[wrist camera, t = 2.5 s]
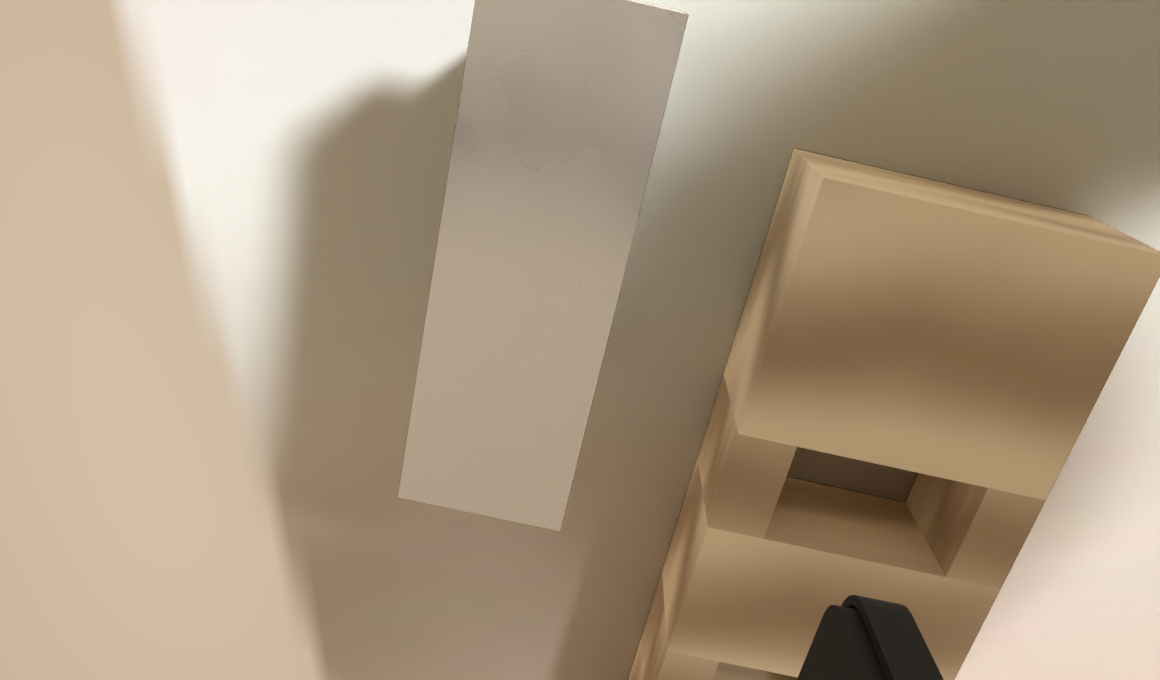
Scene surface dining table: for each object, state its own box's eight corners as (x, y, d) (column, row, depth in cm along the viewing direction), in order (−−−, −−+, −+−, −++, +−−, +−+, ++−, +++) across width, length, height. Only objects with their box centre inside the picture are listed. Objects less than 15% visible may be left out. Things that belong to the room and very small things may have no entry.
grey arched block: (526, -30, 23) (480, -34, 16) (668, 4, 24) (688, 14, 16) (457, 361, 28) (397, 497, 21) (577, 387, 28) (560, 531, 21)
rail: (793, 148, 25) (823, 177, 21) (1090, 216, 25) (1169, 256, 22) (597, 777, 35) (594, 871, 31) (811, 820, 35) (833, 918, 32)
